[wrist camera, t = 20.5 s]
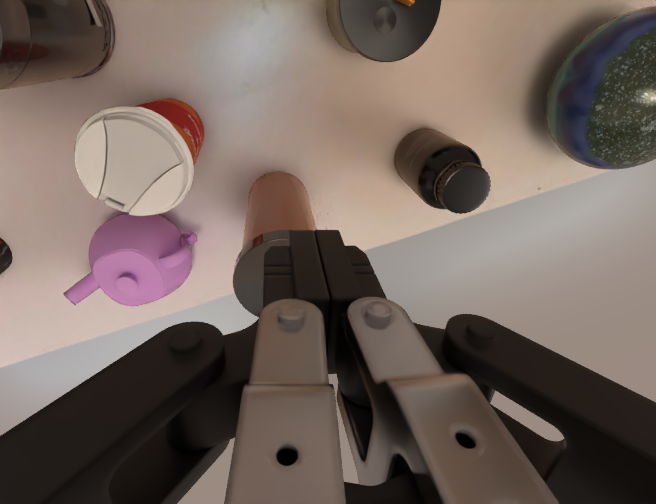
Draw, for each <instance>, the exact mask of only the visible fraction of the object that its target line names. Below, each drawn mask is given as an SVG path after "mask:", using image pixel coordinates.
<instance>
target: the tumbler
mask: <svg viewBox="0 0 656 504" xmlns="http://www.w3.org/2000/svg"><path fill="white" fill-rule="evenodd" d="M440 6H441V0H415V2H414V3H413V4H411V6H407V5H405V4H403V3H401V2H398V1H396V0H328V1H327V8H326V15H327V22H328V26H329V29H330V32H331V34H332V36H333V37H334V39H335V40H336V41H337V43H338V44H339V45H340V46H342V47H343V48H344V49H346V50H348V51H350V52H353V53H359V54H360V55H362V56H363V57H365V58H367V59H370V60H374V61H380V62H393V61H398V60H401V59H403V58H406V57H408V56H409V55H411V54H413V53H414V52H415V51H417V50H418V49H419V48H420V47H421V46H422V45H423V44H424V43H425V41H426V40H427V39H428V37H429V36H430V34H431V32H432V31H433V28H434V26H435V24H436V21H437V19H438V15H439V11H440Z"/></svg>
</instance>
